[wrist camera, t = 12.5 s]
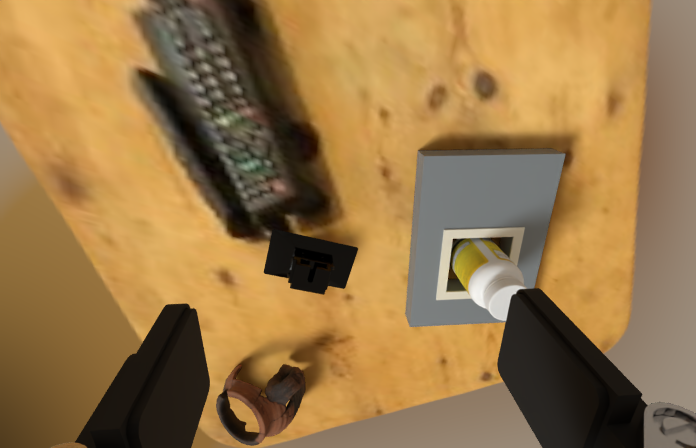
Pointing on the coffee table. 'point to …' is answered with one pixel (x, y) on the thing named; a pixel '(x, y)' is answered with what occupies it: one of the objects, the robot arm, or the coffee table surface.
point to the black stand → (309, 261)
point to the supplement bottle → (486, 274)
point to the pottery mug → (262, 403)
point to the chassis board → (476, 222)
